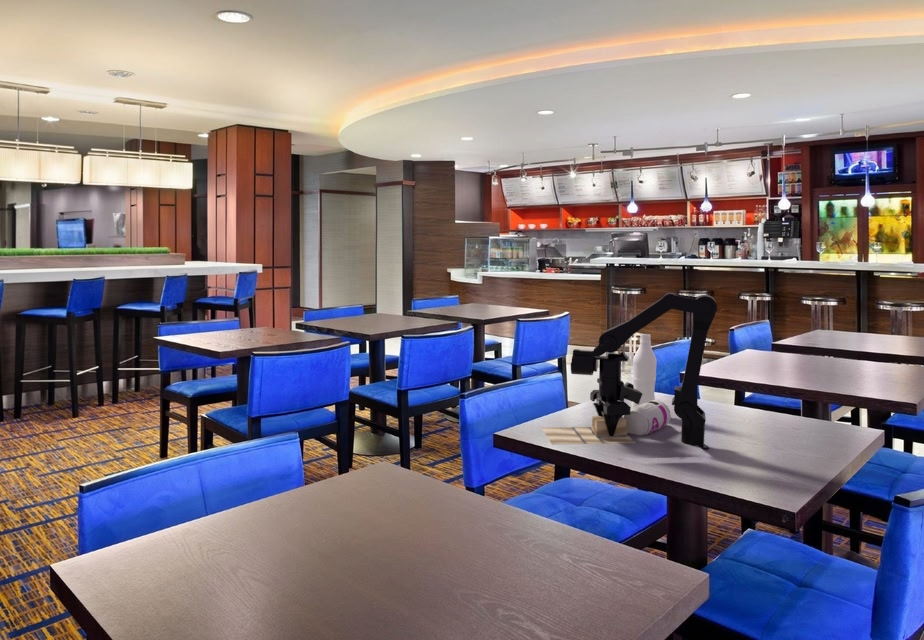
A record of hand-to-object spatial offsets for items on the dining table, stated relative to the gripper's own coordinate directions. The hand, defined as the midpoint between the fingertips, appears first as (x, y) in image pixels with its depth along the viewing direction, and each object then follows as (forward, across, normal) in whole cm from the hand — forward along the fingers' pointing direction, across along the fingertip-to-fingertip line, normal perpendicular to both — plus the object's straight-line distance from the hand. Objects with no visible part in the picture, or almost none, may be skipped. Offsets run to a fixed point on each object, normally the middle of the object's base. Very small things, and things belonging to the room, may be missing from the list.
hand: (608, 433), depth 183 cm
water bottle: (+2, +26, -18) cm, 32 cm away
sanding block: (0, 0, 0) cm, 0 cm away
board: (+2, 0, +6) cm, 6 cm away
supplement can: (-2, +11, -18) cm, 21 cm away
